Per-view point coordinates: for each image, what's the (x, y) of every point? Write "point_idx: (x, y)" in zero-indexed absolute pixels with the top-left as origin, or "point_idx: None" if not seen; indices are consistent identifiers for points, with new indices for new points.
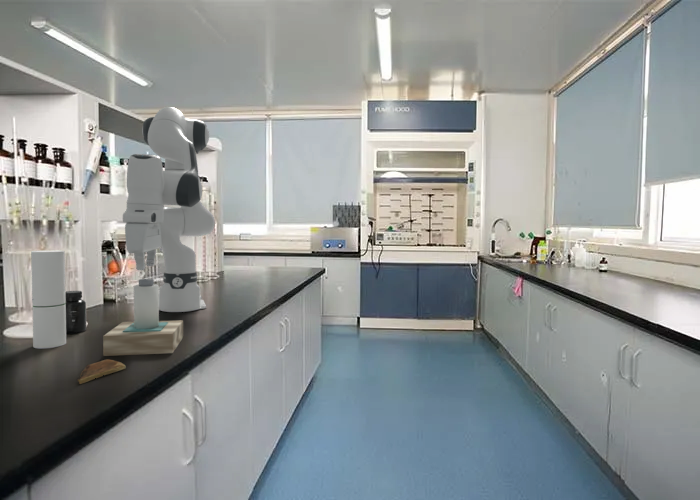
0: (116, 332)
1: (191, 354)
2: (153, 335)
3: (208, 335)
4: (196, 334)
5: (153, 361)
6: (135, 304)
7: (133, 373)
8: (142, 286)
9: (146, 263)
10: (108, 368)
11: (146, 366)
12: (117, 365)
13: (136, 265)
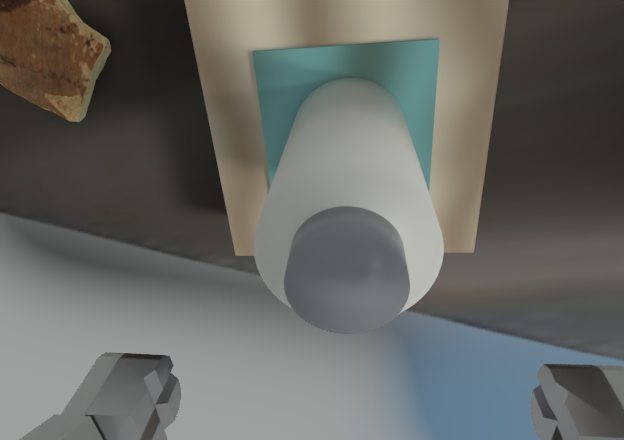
0: (250, 18)
1: (237, 267)
2: (224, 191)
3: (466, 286)
4: (494, 248)
5: (163, 180)
6: (290, 142)
7: (51, 155)
8: (291, 244)
9: (559, 385)
10: (21, 85)
11: (115, 173)
12: (58, 102)
13: (77, 391)
